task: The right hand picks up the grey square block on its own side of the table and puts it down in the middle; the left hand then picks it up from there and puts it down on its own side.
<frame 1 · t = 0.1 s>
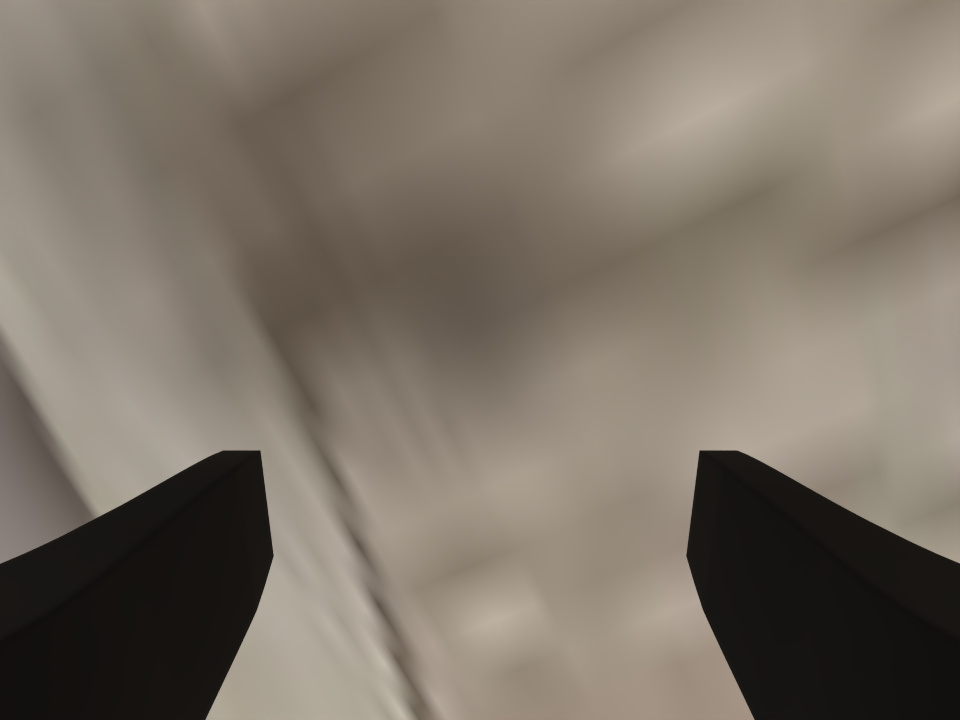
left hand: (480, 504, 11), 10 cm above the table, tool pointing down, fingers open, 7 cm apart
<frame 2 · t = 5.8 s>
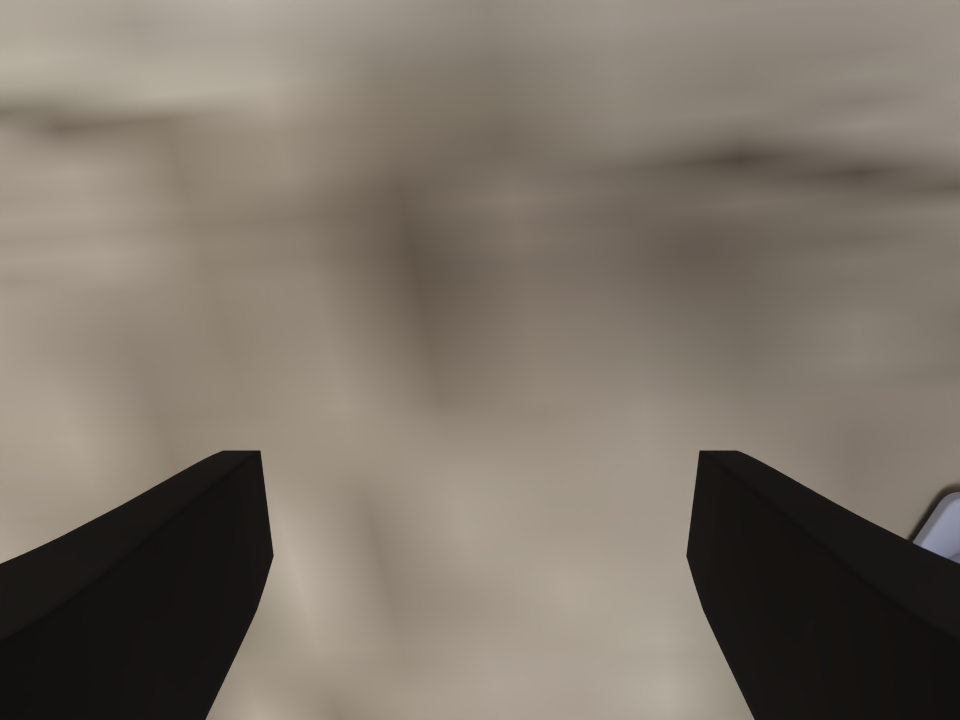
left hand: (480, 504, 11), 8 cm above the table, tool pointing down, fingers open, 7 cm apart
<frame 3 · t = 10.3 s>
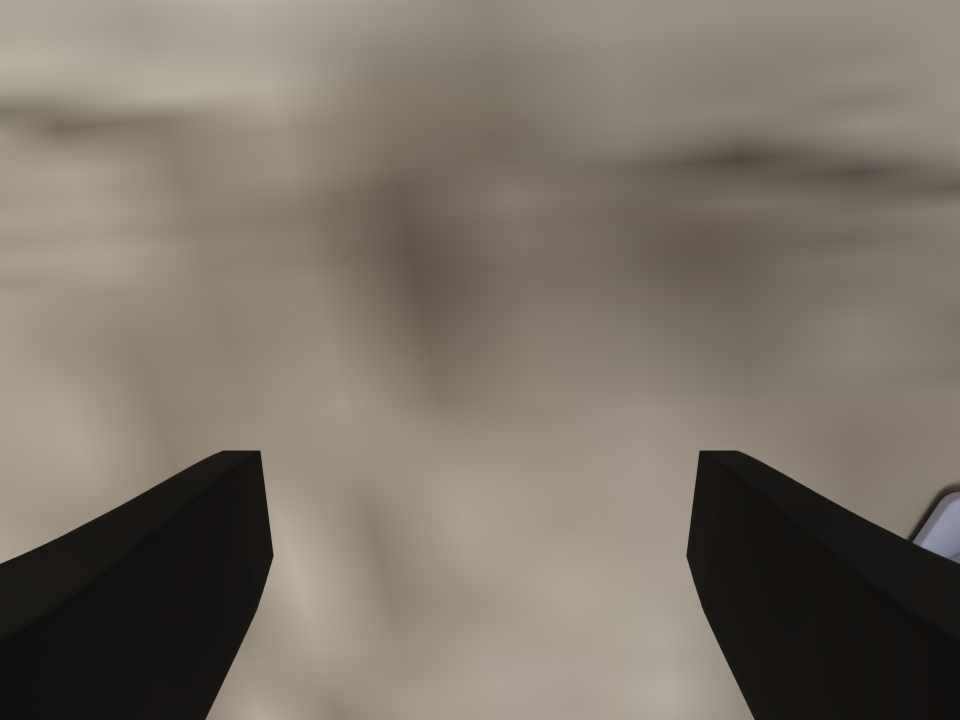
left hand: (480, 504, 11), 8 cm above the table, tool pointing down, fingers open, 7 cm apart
when the right hand's fingers open (1 cm above the table, at t = 15.2 s): grey square block stays where it is, on the table.
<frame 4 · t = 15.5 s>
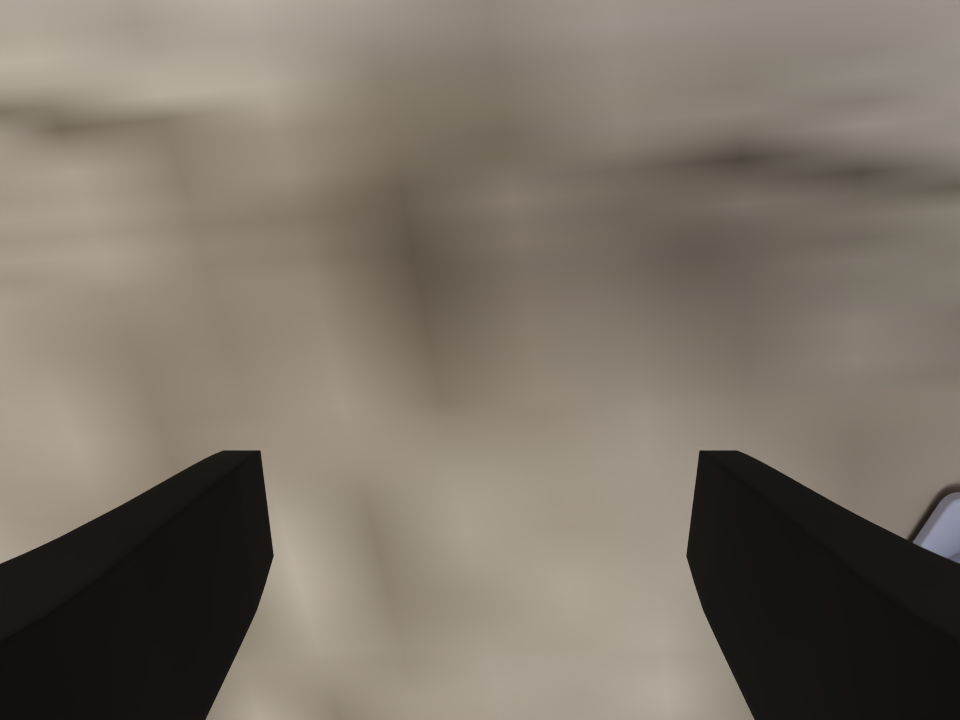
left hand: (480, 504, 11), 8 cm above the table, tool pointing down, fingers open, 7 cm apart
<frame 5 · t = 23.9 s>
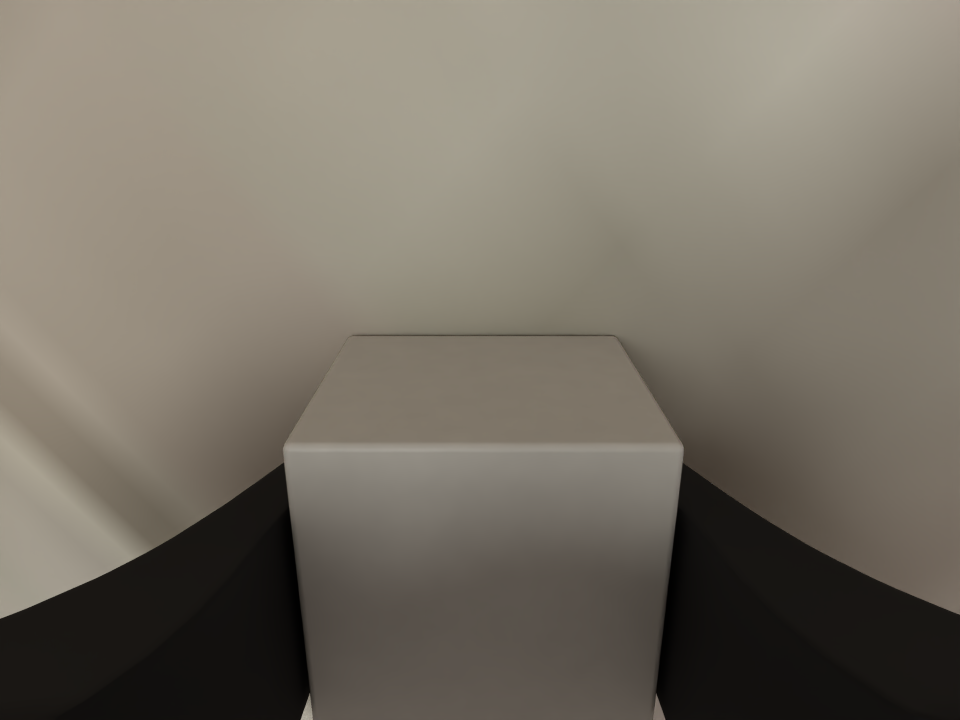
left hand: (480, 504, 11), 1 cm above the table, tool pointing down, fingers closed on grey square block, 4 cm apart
grey square block: (482, 463, 12), on the table, touching left hand
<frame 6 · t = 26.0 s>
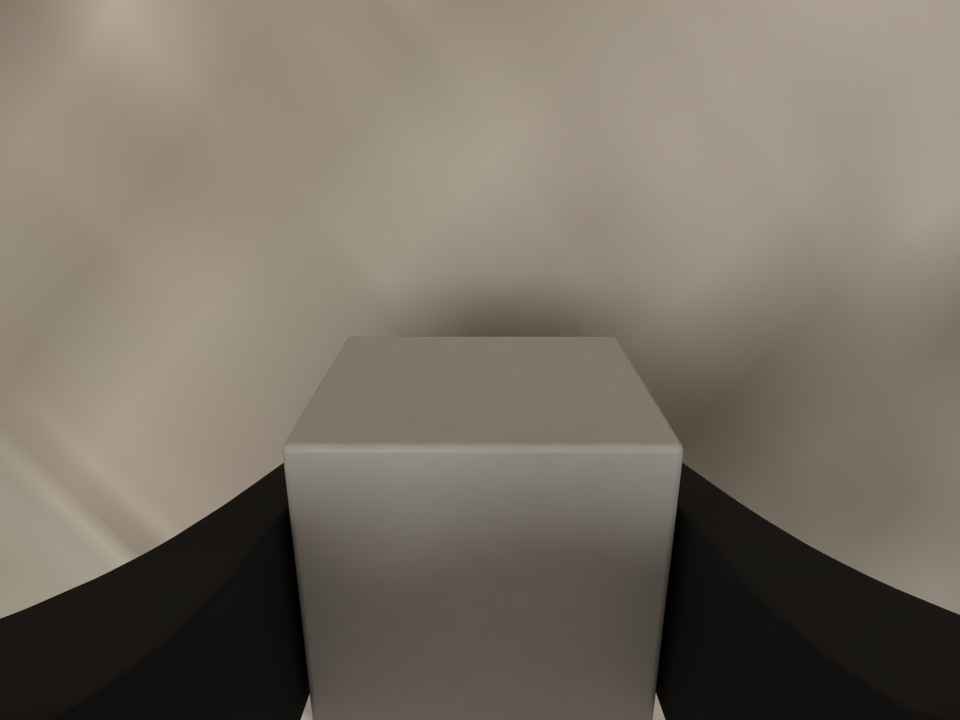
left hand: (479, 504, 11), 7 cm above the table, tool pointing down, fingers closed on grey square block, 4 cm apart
grey square block: (482, 464, 12), point 5 cm above the table, touching left hand
when the left hand's fingers open (2 cm above the table, at t = 28.4 s): grey square block drops 1 cm, on the table.
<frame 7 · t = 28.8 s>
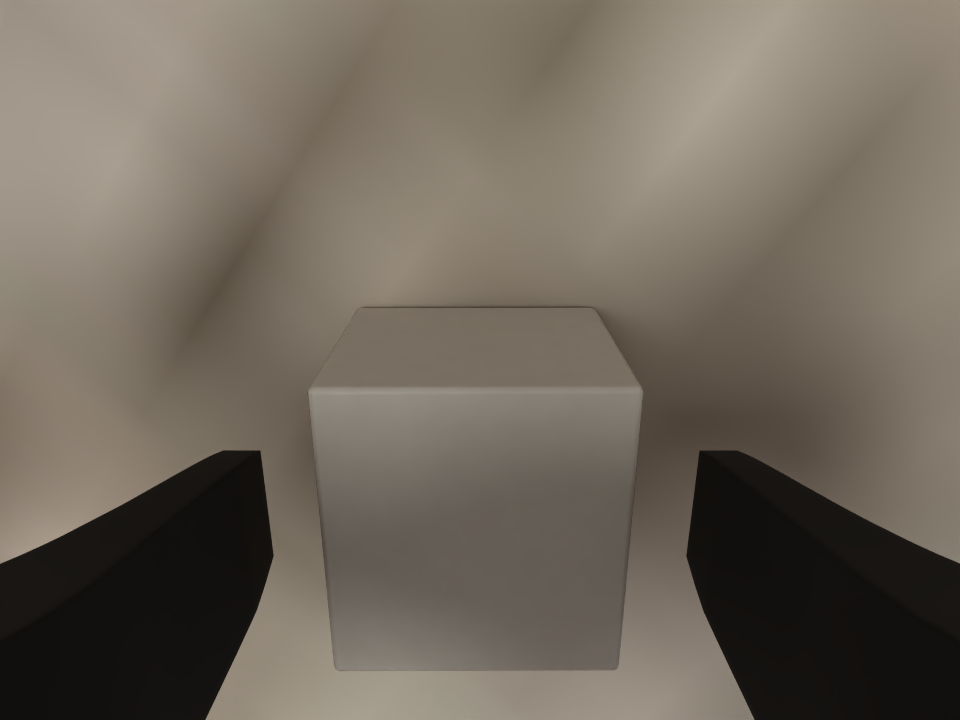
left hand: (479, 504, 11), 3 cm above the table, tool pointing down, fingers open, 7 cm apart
grey square block: (476, 423, 14), on the table
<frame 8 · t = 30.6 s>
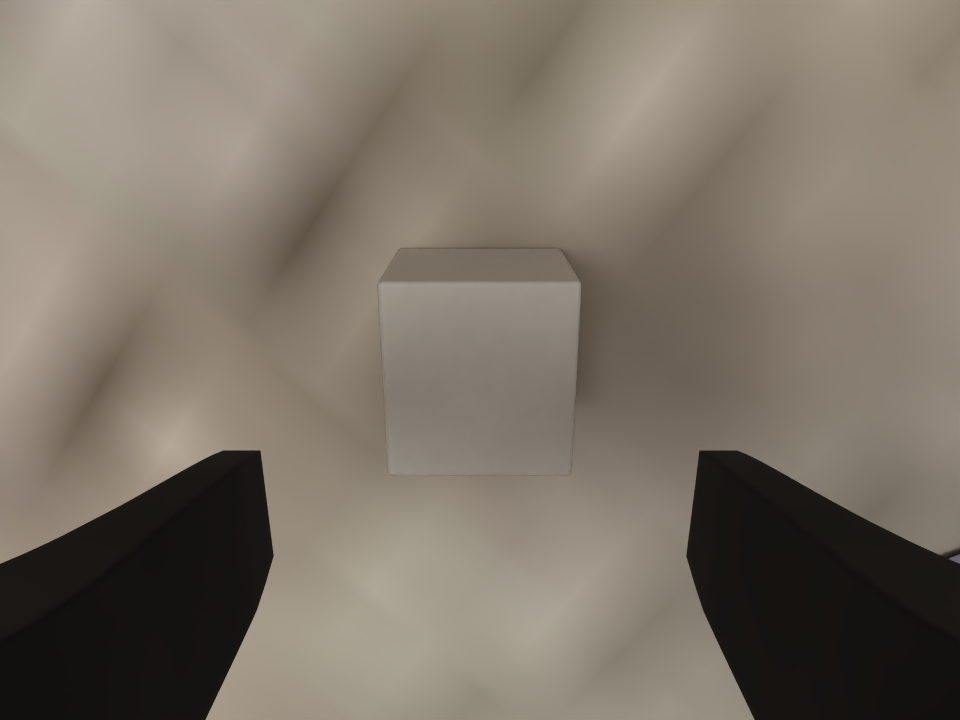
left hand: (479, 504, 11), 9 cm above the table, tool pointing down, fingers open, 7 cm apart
grey square block: (479, 331, 20), on the table
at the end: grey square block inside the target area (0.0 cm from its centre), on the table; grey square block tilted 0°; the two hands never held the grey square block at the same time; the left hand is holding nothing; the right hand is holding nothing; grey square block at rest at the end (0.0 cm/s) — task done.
